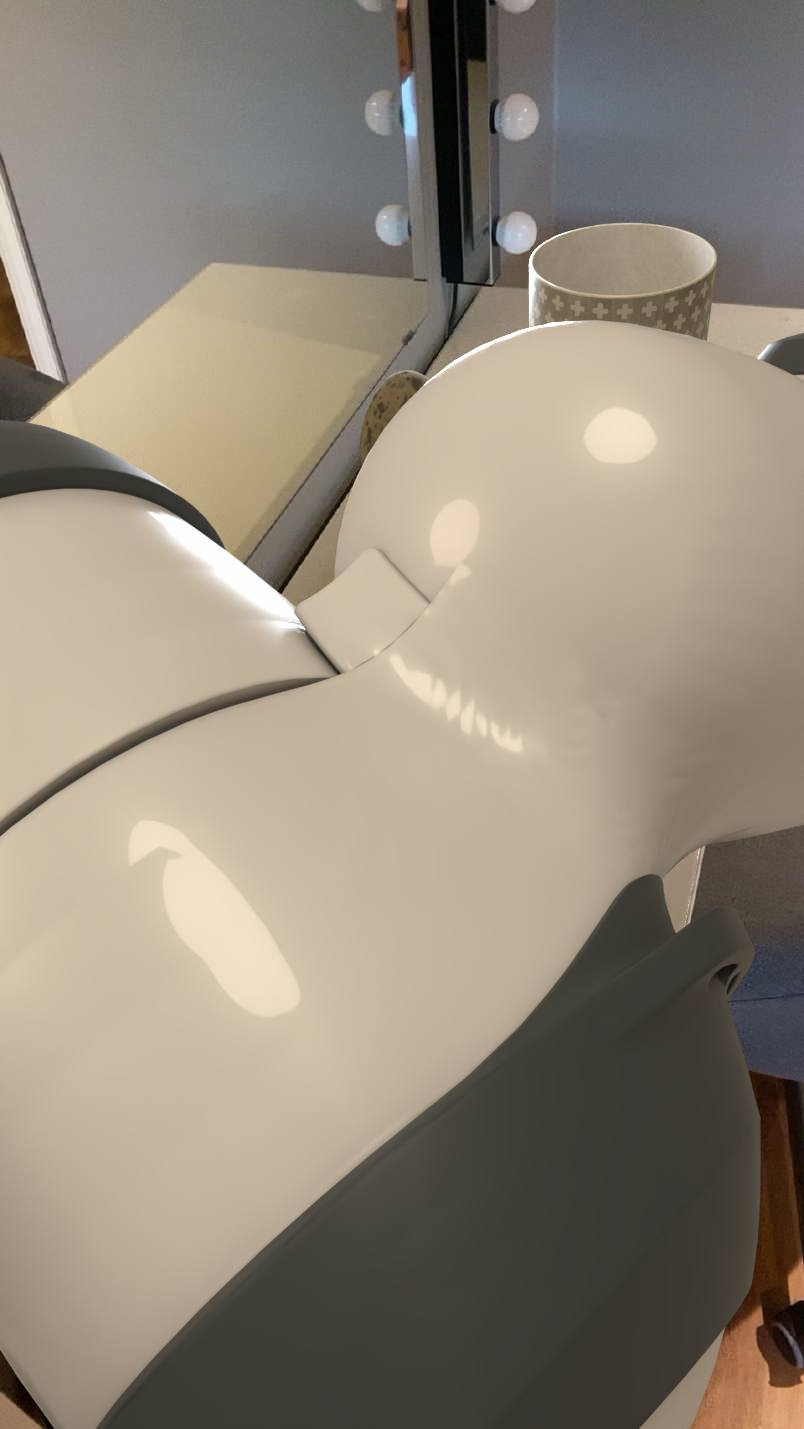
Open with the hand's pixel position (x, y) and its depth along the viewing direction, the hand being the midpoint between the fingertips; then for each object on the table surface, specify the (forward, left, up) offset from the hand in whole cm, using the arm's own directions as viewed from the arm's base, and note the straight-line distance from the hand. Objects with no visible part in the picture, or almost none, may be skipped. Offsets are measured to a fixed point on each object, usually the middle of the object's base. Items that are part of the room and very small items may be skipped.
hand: (488, 599), depth 62 cm
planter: (+60, -23, -24) cm, 68 cm away
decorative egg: (+47, +1, -24) cm, 52 cm away
